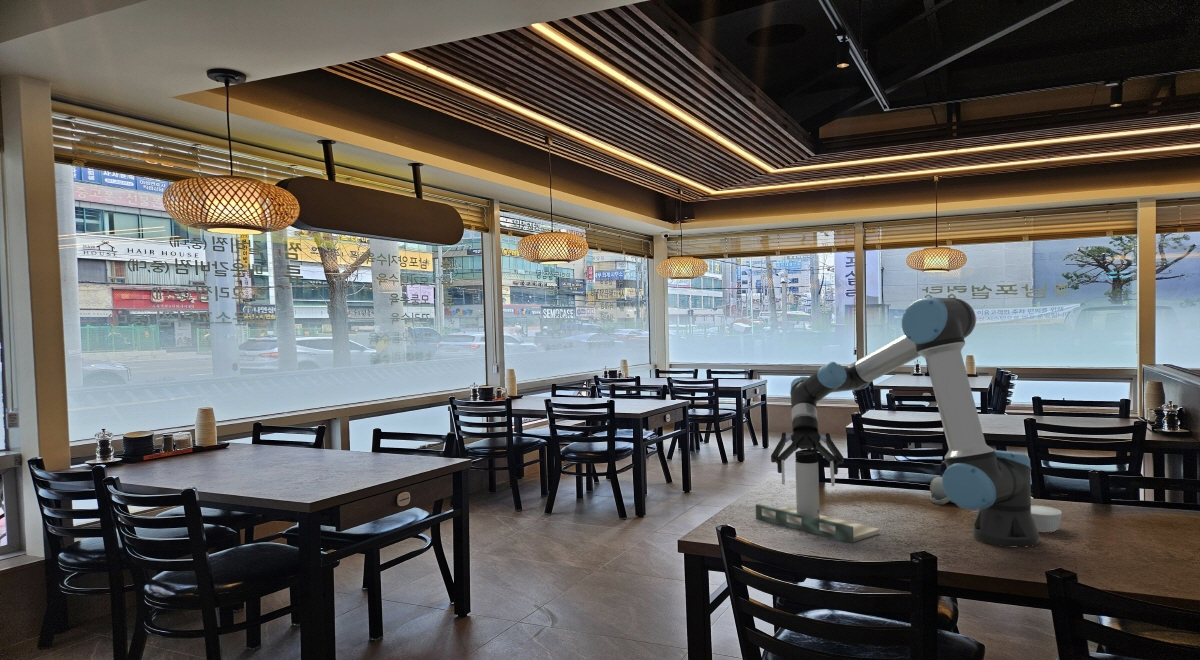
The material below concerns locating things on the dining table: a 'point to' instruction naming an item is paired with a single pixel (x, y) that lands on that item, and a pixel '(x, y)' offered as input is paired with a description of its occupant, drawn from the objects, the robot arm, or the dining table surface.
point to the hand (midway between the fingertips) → (808, 482)
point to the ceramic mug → (938, 492)
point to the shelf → (816, 523)
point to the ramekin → (1046, 518)
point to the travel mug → (807, 482)
